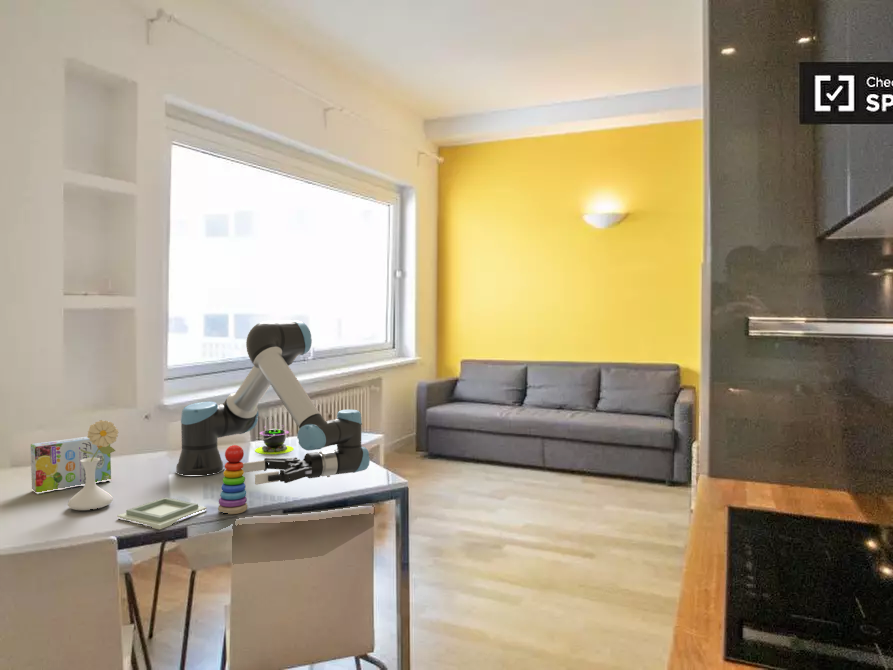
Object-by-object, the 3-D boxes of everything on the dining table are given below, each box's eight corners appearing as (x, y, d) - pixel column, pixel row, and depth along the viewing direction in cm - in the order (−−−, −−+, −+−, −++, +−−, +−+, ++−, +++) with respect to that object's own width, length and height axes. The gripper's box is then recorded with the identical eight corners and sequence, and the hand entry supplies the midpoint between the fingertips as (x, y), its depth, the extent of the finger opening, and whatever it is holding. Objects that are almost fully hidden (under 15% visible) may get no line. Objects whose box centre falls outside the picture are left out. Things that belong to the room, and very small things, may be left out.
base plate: (117, 519, 175) (117, 510, 175) (166, 503, 190) (165, 495, 190) (159, 529, 168) (159, 520, 168) (206, 511, 183) (206, 503, 183)
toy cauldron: (256, 446, 263) (255, 419, 262) (293, 445, 266) (294, 418, 265) (253, 455, 248) (253, 427, 248) (293, 453, 251) (293, 425, 251)
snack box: (105, 478, 214) (105, 433, 213) (111, 482, 210) (110, 436, 209) (31, 491, 199) (30, 442, 198) (35, 495, 195) (34, 446, 194)
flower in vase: (65, 516, 177) (63, 425, 176) (70, 503, 188) (68, 418, 186) (118, 510, 183) (117, 422, 181) (120, 498, 193) (119, 415, 192)
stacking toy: (238, 516, 179) (238, 449, 178) (212, 514, 181) (212, 447, 180) (252, 507, 187) (252, 443, 186) (227, 505, 188) (227, 441, 187)
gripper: (335, 487, 186) (261, 498, 175) (305, 467, 207) (237, 475, 196) (335, 461, 185) (261, 470, 174) (305, 443, 207) (237, 451, 195)
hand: (248, 473), depth 185 cm, fingers open, 13 cm apart
